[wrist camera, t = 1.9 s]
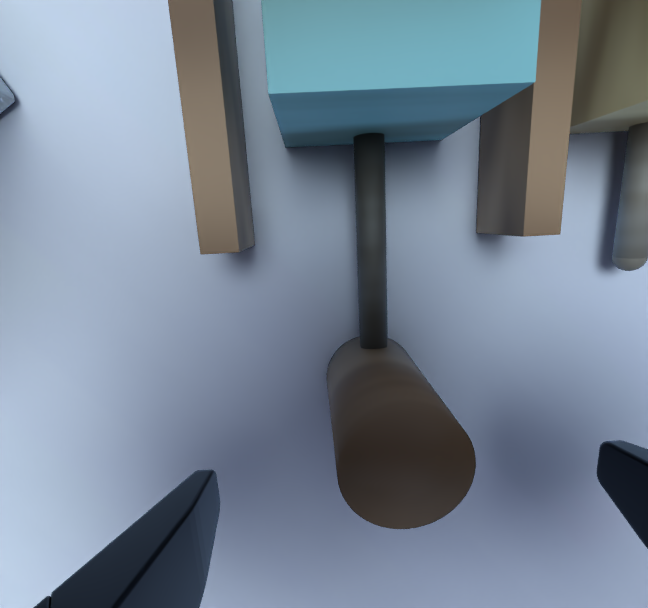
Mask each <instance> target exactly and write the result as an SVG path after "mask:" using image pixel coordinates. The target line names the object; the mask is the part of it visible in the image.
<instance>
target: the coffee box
mask: <svg viewBox="0 0 648 608" xmlns="http://www.w3.org/2000/svg"><path fill="white" fill-rule="evenodd" d="M14 102H15V99H14V95H13V93H12V92H11V91H10V89H9V88H8V87H7V85H6V84H5V83H4V82H3V80H2V79H1V78H0V113H1V112H3V111H4V110H5V109H6V108H8V107H9V106H10V105H11V104H12V103H14Z"/></svg>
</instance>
